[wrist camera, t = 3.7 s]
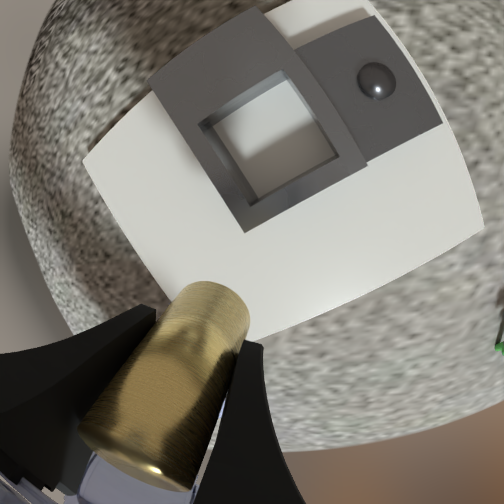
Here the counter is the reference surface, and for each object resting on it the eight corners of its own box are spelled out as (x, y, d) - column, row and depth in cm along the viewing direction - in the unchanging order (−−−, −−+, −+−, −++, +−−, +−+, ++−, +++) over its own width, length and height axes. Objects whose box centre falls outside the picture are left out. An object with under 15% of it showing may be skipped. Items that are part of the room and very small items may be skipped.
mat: (217, 347, 22) (213, 355, 21) (90, 159, 18) (82, 161, 17) (477, 223, 15) (484, 227, 14) (345, -14, 11) (347, -21, 10)
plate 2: (253, 221, 17) (247, 229, 15) (190, 122, 15) (178, 121, 14) (434, 124, 12) (446, 122, 11) (370, 22, 11) (375, 12, 9)
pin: (205, 353, 12) (140, 485, 6) (161, 298, 11) (60, 422, 5) (265, 331, 11) (218, 496, 5) (220, 267, 10) (117, 425, 4)
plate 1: (253, 221, 17) (244, 233, 14) (166, 86, 14) (146, 80, 12) (359, 162, 14) (368, 165, 12) (262, 22, 12) (255, 5, 10)
